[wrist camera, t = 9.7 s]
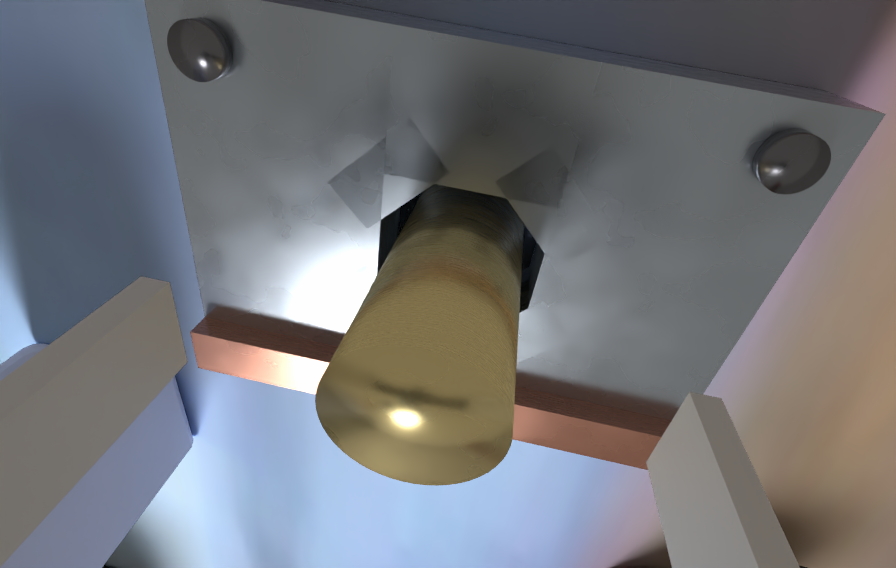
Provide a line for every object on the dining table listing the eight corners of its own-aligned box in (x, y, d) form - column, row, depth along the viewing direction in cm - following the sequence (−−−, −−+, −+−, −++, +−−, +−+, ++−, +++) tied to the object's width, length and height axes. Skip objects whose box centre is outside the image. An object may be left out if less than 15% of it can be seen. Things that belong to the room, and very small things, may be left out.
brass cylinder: (407, 263, 20) (316, 461, 12) (418, 163, 18) (313, 324, 9) (510, 285, 20) (491, 502, 12) (536, 186, 17) (535, 373, 9)
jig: (246, 312, 23) (198, 367, 20) (204, -22, 15) (112, -22, 12) (649, 400, 22) (669, 474, 19) (825, 90, 14) (911, 124, 11)
